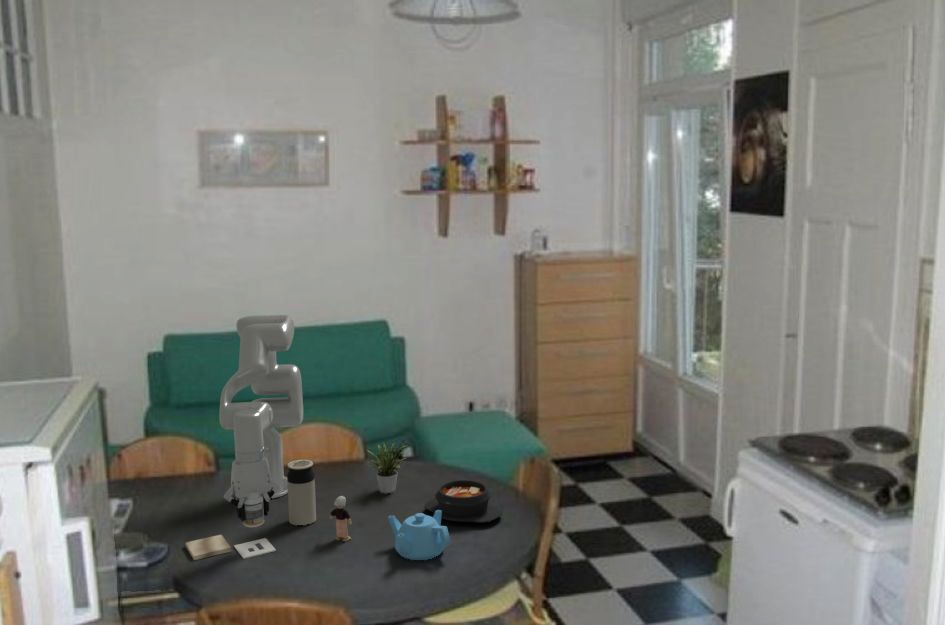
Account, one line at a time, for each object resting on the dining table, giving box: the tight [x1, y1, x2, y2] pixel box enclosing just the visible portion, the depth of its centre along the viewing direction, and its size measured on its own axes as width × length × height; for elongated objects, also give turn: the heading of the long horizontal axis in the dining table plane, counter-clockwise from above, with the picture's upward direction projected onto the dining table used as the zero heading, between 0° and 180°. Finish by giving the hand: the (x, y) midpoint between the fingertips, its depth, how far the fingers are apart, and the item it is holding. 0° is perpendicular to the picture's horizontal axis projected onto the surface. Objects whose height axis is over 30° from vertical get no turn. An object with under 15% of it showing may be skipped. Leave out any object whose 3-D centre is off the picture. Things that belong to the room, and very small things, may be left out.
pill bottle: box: [242, 492, 265, 528], centre depth 231 cm, size 6×6×10 cm
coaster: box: [184, 534, 232, 561], centre depth 232 cm, size 10×10×1 cm
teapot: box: [387, 510, 452, 561], centre depth 229 cm, size 15×15×11 cm
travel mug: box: [286, 459, 317, 526], centre depth 249 cm, size 8×8×18 cm
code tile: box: [233, 537, 277, 560], centre depth 232 cm, size 9×9×1 cm
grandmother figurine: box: [329, 495, 353, 542], centre depth 237 cm, size 8×4×13 cm, turn 71°
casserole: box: [424, 479, 503, 524], centre depth 254 cm, size 25×19×8 cm
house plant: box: [365, 442, 409, 492], centre depth 272 cm, size 14×14×16 cm
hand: (253, 516), depth 231 cm, fingers closed on pill bottle, 5 cm apart
